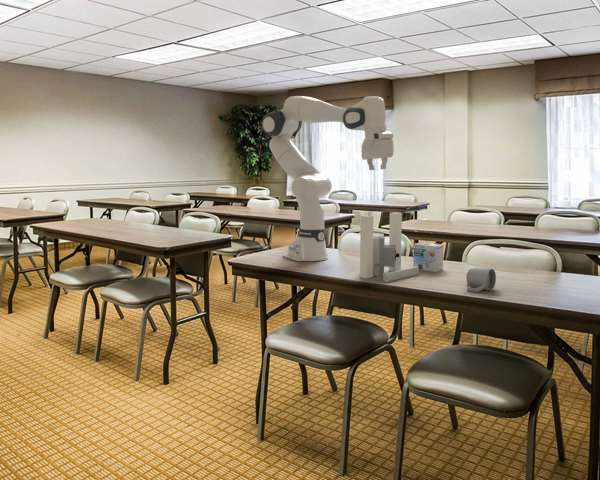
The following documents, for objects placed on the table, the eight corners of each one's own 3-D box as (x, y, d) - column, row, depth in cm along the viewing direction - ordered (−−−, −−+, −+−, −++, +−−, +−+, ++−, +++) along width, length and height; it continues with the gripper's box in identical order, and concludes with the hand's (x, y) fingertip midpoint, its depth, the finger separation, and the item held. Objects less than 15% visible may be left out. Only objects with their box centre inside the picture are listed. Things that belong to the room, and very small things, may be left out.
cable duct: (382, 281, 201) (383, 273, 200) (414, 273, 214) (414, 266, 214) (387, 281, 199) (387, 274, 199) (418, 274, 213) (418, 266, 212)
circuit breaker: (398, 276, 209) (399, 238, 207) (362, 275, 212) (362, 237, 210) (399, 272, 216) (399, 236, 214) (364, 271, 219) (364, 235, 217)
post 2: (388, 270, 220) (389, 212, 217) (394, 269, 223) (394, 212, 219) (395, 271, 218) (396, 213, 214) (400, 270, 220) (401, 212, 217)
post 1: (360, 277, 208) (360, 216, 205) (365, 275, 211) (366, 215, 207) (366, 278, 206) (367, 216, 202) (372, 277, 208) (373, 216, 205)
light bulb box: (412, 268, 224) (413, 243, 222) (420, 266, 228) (421, 241, 227) (435, 272, 216) (436, 246, 215) (443, 269, 221) (444, 244, 220)
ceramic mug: (474, 285, 193) (474, 264, 192) (496, 288, 188) (496, 267, 187) (460, 290, 186) (461, 269, 184) (483, 294, 180) (484, 272, 179)
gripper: (357, 138, 228) (358, 170, 230) (381, 133, 209) (383, 169, 211) (369, 137, 230) (371, 170, 232) (395, 133, 211) (397, 168, 213)
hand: (377, 169), depth 221 cm, fingers open, 8 cm apart
